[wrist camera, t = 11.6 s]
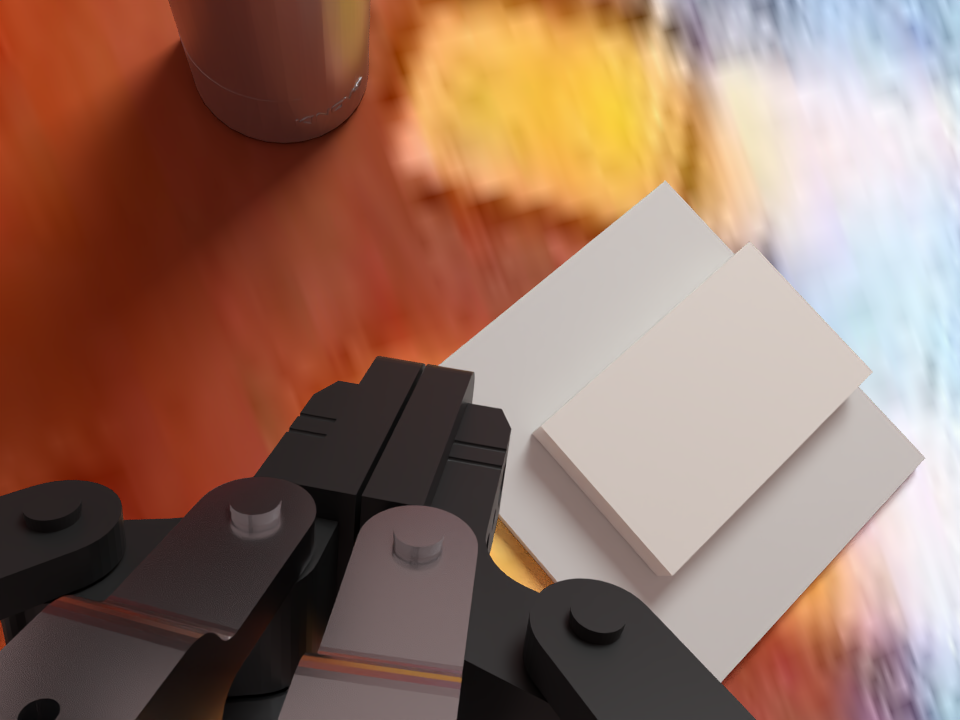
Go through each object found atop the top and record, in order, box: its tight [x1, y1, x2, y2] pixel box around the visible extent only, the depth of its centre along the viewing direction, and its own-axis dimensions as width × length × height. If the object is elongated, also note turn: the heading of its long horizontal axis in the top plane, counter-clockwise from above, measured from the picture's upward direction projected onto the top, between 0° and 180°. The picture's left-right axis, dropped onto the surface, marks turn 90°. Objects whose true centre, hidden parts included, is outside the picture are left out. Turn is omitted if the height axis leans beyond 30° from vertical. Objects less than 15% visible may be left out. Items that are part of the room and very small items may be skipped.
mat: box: [439, 181, 925, 683], centre depth 41 cm, size 20×19×1 cm
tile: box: [532, 242, 872, 576], centre depth 40 cm, size 9×2×15 cm
